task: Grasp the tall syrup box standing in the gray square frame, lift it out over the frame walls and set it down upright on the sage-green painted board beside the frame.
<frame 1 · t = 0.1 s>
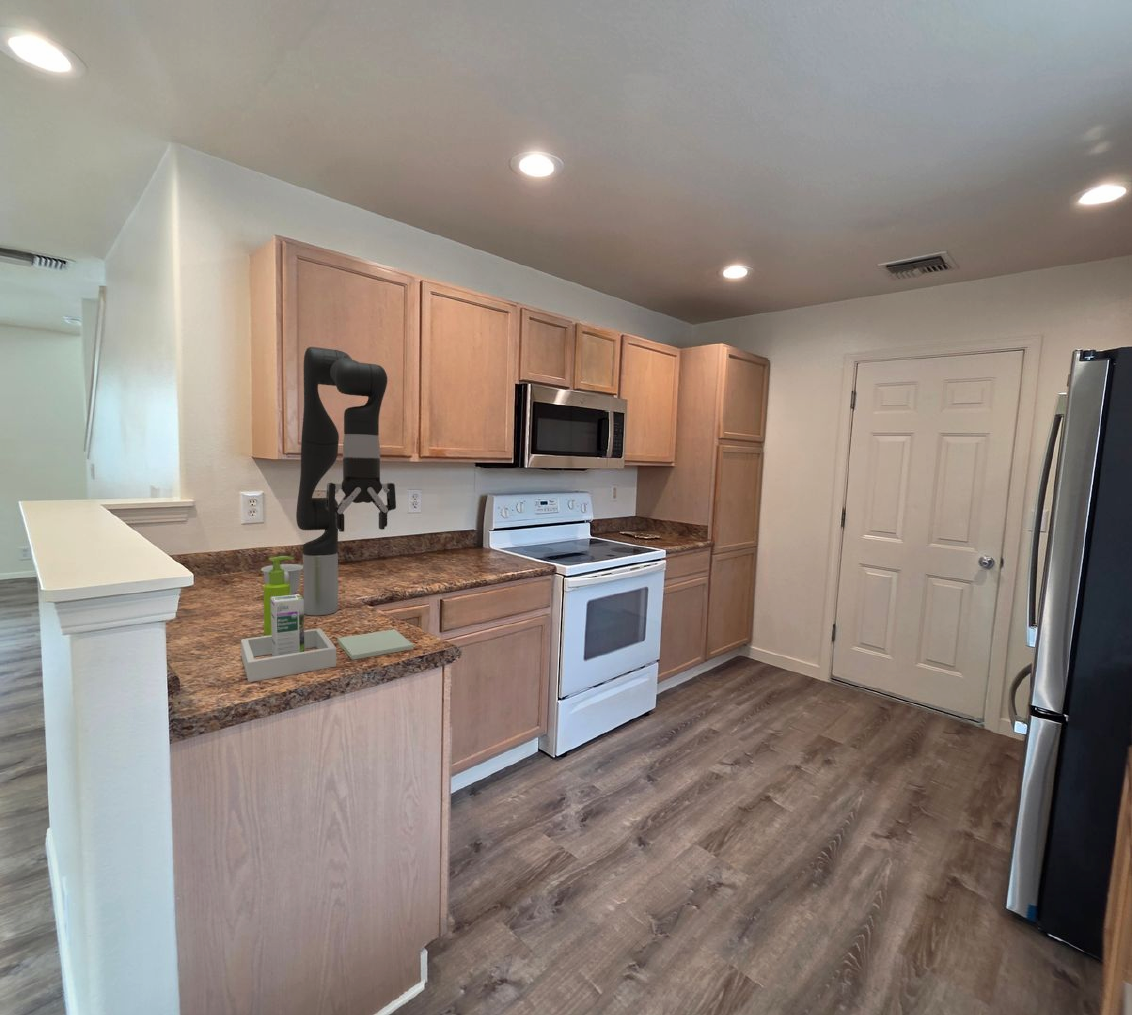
hand: (361, 530, 119), 29 cm above the worktop, fingers open, 8 cm apart
syrup box: (288, 662, 119), resting in gray square frame
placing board: (375, 645, 130), on the worktop
gray square frame: (288, 661, 119), on the worktop
teacup: (283, 600, 170), on the worktop
soap dispenser: (280, 636, 135), on the worktop
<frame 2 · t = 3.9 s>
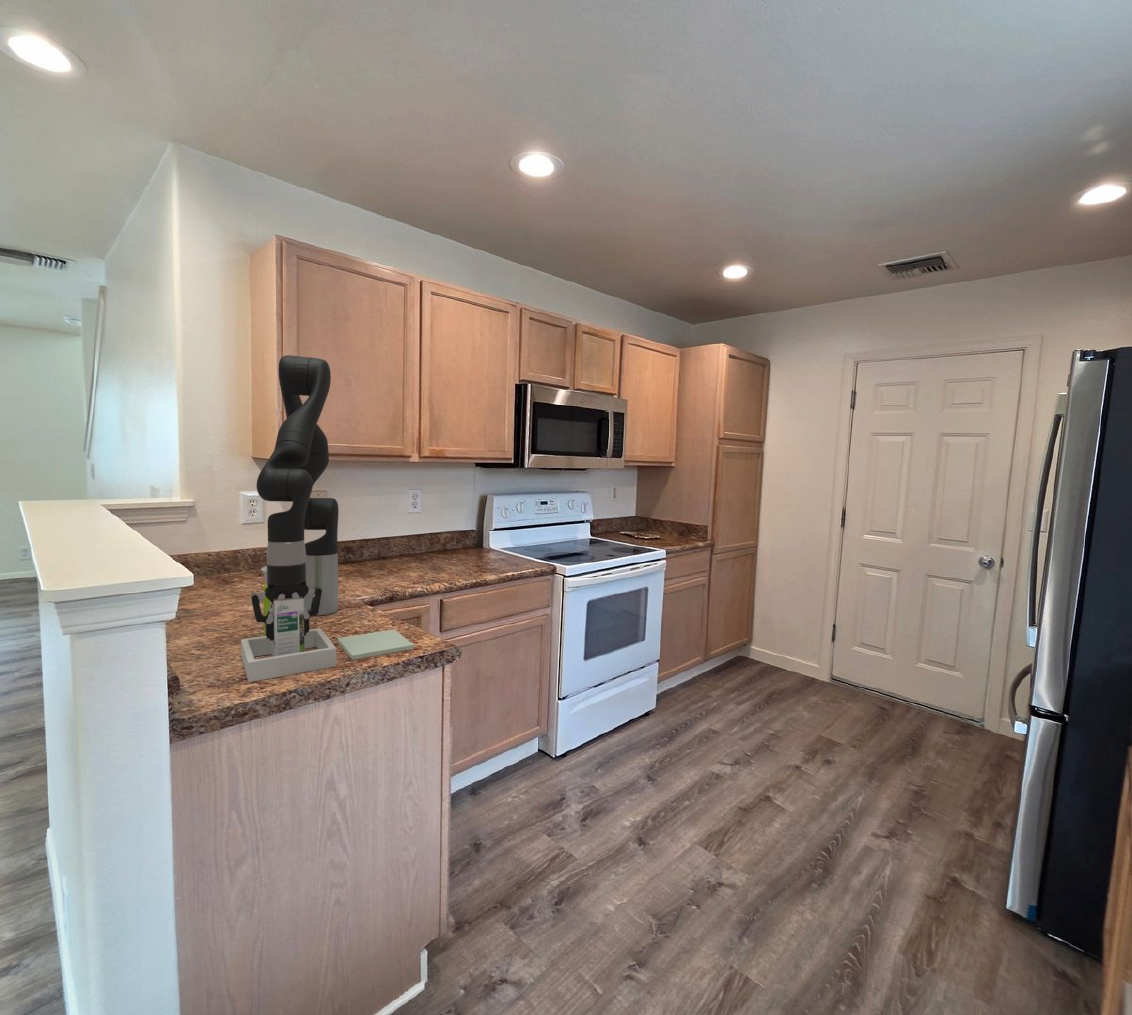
hand: (287, 636, 118), 6 cm above the worktop, fingers closed on syrup box, 5 cm apart
syrup box: (288, 662, 119), resting in gray square frame, touching gripper
everything else where it was.
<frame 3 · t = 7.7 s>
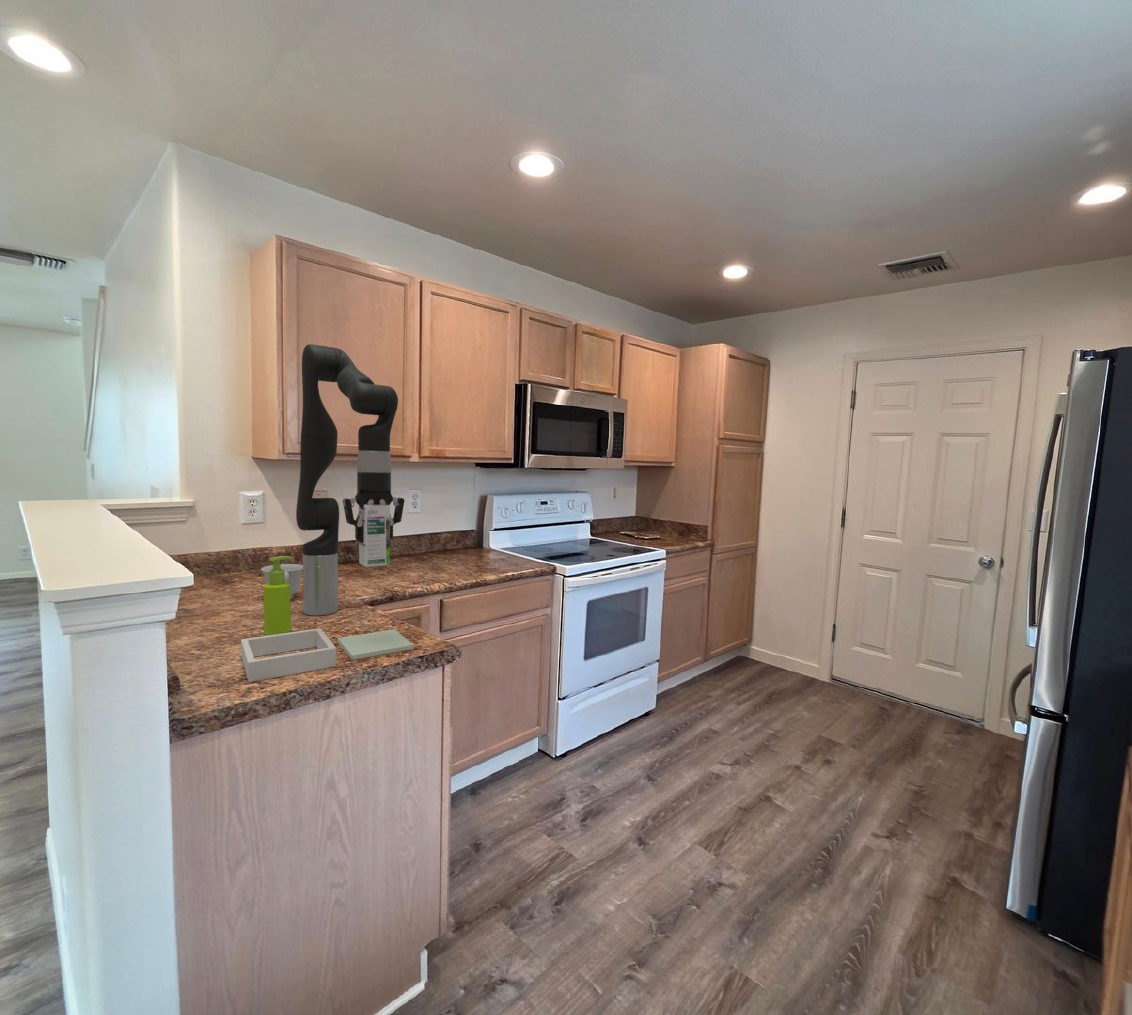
hand: (374, 541, 128), 25 cm above the worktop, fingers closed on syrup box, 5 cm apart
syrup box: (374, 565, 129), point 20 cm above the worktop, touching gripper
everything else where it was.
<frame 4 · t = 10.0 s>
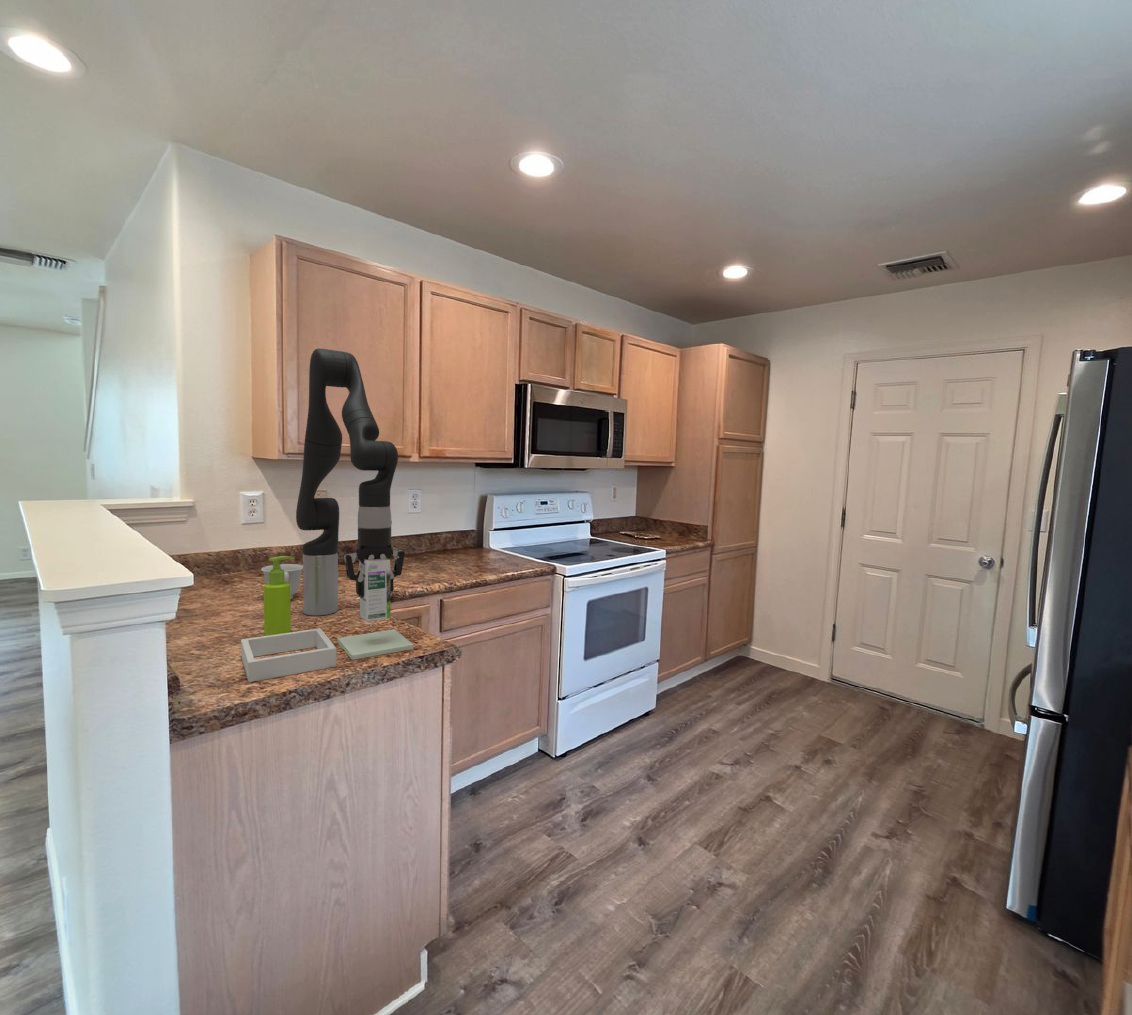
hand: (374, 594, 129), 12 cm above the worktop, fingers closed on syrup box, 5 cm apart
syrup box: (375, 618, 130), point 7 cm above the worktop, touching gripper
everything else where it was.
when the fingers open (7 cm above the worktop, at t = 12.0 s): syrup box stays where it is, resting on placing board.
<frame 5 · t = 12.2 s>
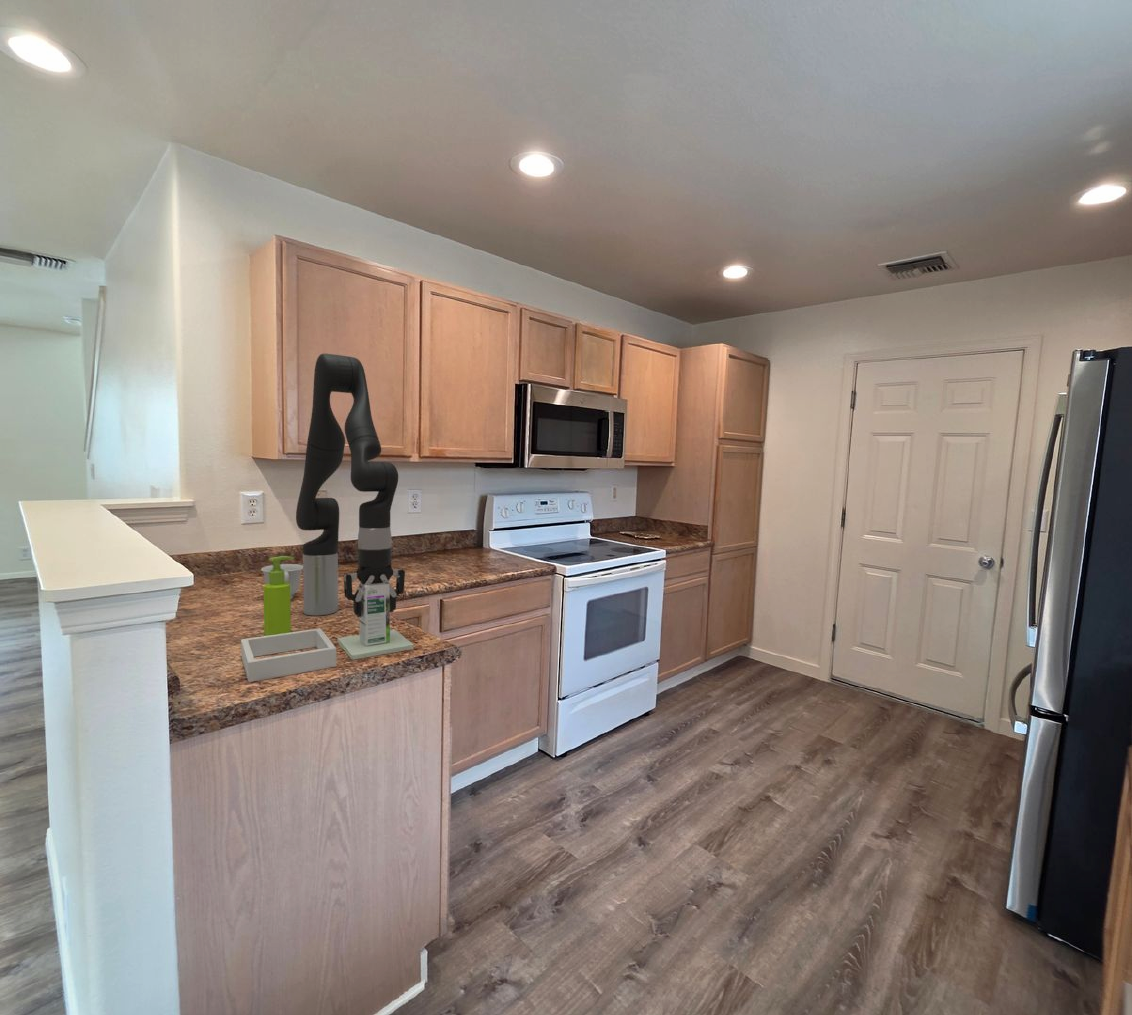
hand: (374, 613, 130), 8 cm above the worktop, fingers open, 7 cm apart
syrup box: (374, 642, 130), point 1 cm above the worktop, touching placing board
everything else where it was.
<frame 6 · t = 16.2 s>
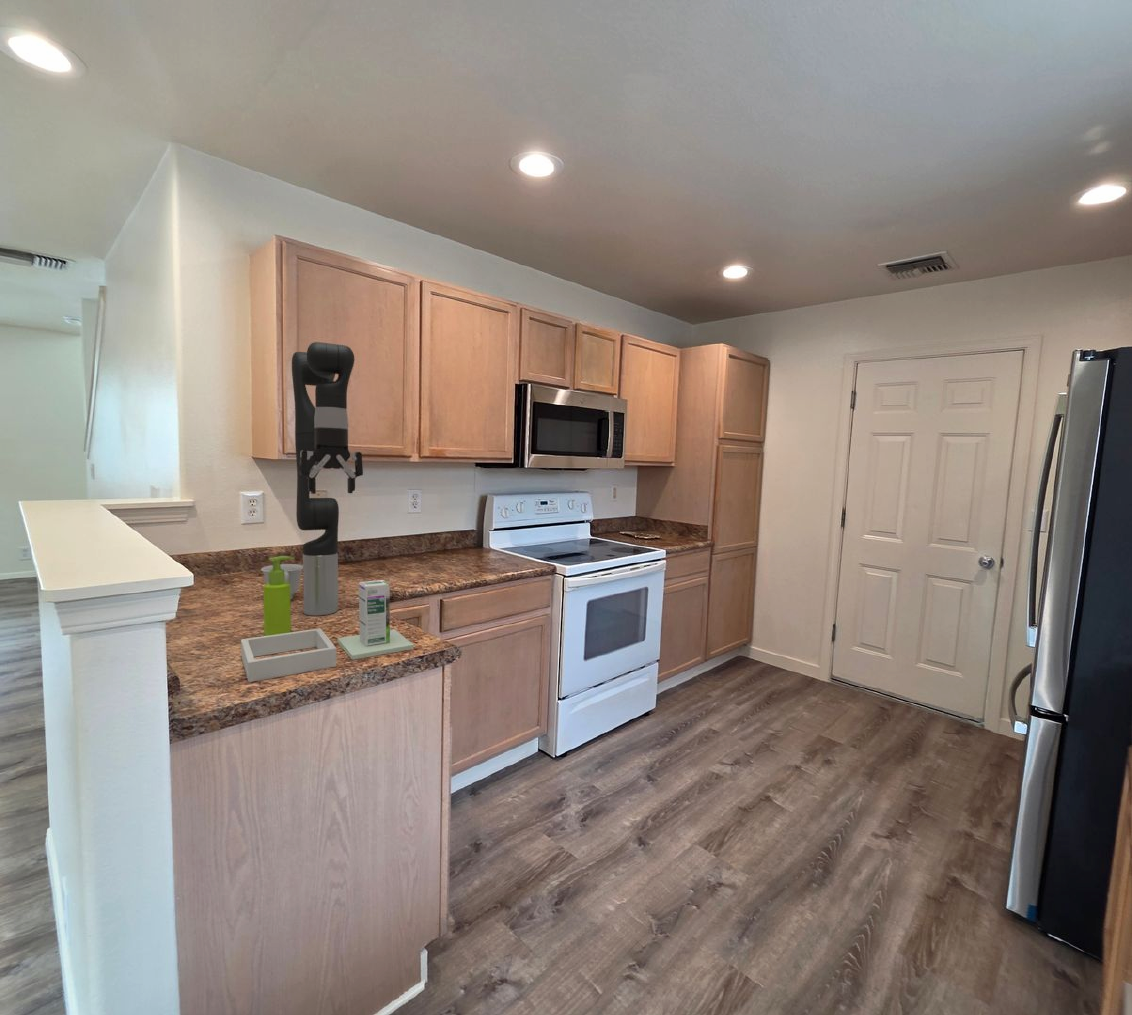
hand: (331, 493, 133), 36 cm above the worktop, fingers open, 8 cm apart
nothing on the worktop moved.
at the end: syrup box inside the target area on the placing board (0.1 cm from its centre), point 0.8 cm above the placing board's base; syrup box tilted 0°; the gripper is holding nothing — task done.
